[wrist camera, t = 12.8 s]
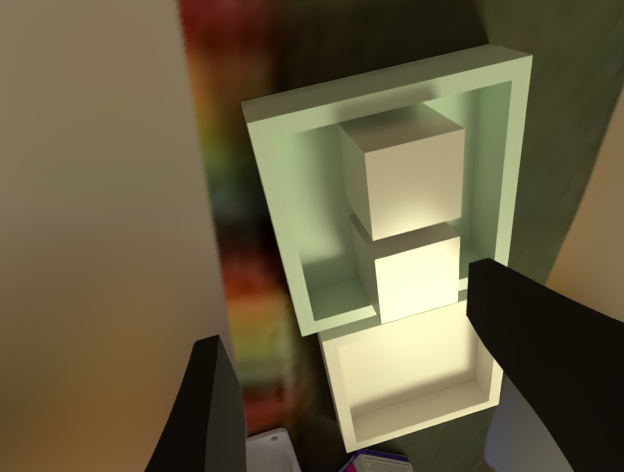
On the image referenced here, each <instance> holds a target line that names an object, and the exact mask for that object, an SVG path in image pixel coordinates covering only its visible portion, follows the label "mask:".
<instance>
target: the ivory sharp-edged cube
mask: <svg viewBox="0 0 624 472" xmlns="http://www.w3.org/2000/svg"><path fill="white" fill-rule="evenodd" d="M336 128H337V136H338V144H339V151H340V159H341V167H342V174H343V182H344V190H345V197H346V200H347V201H348V203H349V204H350V206H351V207H352V209H353V211H354V212H355V214H356V215H357V217H358V218H359V220H360V222H361V223H362V225H363V226H364V228H365V229H366V231H367V233H368V234H369V236H370V237H371V239H372V240H373V241H375V240H378V239H382V238H386V237H389V236H393V235H397V234H401V233H404V232H408V231H412V230H416V229H419V228H423V227H427V226H430V225H434V224H438V223H442V222H445V221H449V220H453V219H457V218H460V217H461V205H462V183H463V161H464V139H465V128H463V127H461V126H460V125H458V124H457V123H455V122H453V121H452V120H450V119H448V118H447V117H445V116H443V115H442V114H440V113H439V112H437V111H435V110H434V109H432V108H430V107H429V106H427V105H425V104H424V103H422V102H421V103H417V104H413V105H409V106H404V107H400V108H396V109H392V110H388V111H384V112H380V113H376V114H372V115H368V116H364V117H359V118H355V119H351V120H347V121H343V122H339V123H336Z"/></svg>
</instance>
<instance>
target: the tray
mask: <svg viewBox="0 0 624 472" xmlns="http://www.w3.org/2000/svg"><path fill="white" fill-rule="evenodd" d="M466 305H467V289H464V290H460V291H458V302H455V303H452V304H448V305H445V306H441V307H438V308H435V309H431V310H428V311H425V312H421V313H418V314H414V315H411V316H408V317H404V318H401V319H397V320H394V321H391V322H387V323H384V324H381V322H380V320H379V318H378V316H377V315H375V316H371V317H368V318H364V319H361V320H357V321H354V322H351V323H347V324H344V325H340V326H337V327H333V328H330V329H327V330H323V331H320V332H317V335H318V340H319V344H320V349H321V353H322V357H323V362H324V366H325V370H326V375H327V379H328V384H329V388H330V392H331V397H332V401H333V405H334V410H335V414H336V419H337V423H338V426H339V429H340V432H341V436H342V439H343V442H344V445H345V449H346V452H347V453H349V452H352V451H355V450H358V449H361V448H364V447H368V446H371V445H374V444H377V443H380V442H383V441H386V440H389V439H392V438H395V437H399V436H402V435H405V434H408V433H411V432H414V431H417V430H420V429H423V428H427V427H430V426H433V425H436V424H439V423H442V422H445V421H448V420H451V419H455V418H458V417H461V416H464V415H467V414H470V413H473V412H476V411H479V410H483V409H486V408H489V407H492V406H495V405H498V403H499V396H500V389H501V381H502V374H503V370H502V368H501V367H500V366H499V364H498V363H497V362H496V361H495V359H494V358H493V357H492V355H491V354H490V353H489V351H488V350H487V349H486V347H485V346H484V345H483V343H482V341H481V340H480V338H479V336H478V335H477V333H476V331H475V330H474V328H473V326H472V324H471V323H470V321H469V319H468V317H467V316H466Z"/></svg>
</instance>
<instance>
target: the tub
mask: <svg viewBox="0 0 624 472" xmlns="http://www.w3.org/2000/svg"><path fill="white" fill-rule="evenodd" d="M532 57H533V55H530V54H526V53H523V52H519V51H515V50H512V49H508V48H504V47H501V46H497V45H493V44H486V45H482V46H478V47H473V48H469V49H465V50H461V51H456V52H452V53H448V54H443V55H439V56H435V57H431V58H426V59H422V60H418V61H414V62H409V63H405V64H401V65H396V66H392V67H388V68H384V69H379V70H375V71H371V72H367V73H362V74H358V75H354V76H349V77H345V78H341V79H337V80H332V81H328V82H324V83H320V84H315V85H311V86H307V87H302V88H298V89H294V90H290V91H285V92H281V93H277V94H273V95H268V96H264V97H260V98H255V99H251V100H247V101H243V102H240V103H241V107H242V111H243V115H244V118H245V122H246V126H247V130H248V134H249V138H250V141H251V145H252V149H253V153H254V157H255V161H256V165H257V168H258V172H259V176H260V180H261V184H262V188H263V191H264V195H265V199H266V203H267V207H268V211H269V214H270V218H271V222H272V226H273V230H274V234H275V238H276V241H277V245H278V249H279V253H280V257H281V261H282V264H283V268H284V272H285V276H286V280H287V284H288V287H289V291H290V295H291V299H292V303H293V306H294V310H295V313H296V317H297V320H298V324H299V327H300V331H301V334H302V337H303V336H306V335H309V334H313V333H316V332H320V331H323V330H327V329H330V328H333V327H337V326H340V325H344V324H347V323H351V322H354V321H357V320H361V319H364V318H368V317H371V316H375V315H377V314H376V312H375V310H374V308H373V307H372V305H371V303H370V301H369V299H368V297H367V295H366V293H365V291H364V289H363V287H362V285H361V283H360V281H359V279H358V277H357V275H356V269H355V262H354V255H353V248H352V241H351V234H350V226H349V219H348V216H349V215H352V214H355V212H354V211H353V209H352V207H351V206H350V204H349V203H348V201H347V200H346V197H345V190H344V182H343V174H342V167H341V159H340V151H339V144H338V136H337V128H336V123H339V122H343V121H347V120H351V119H355V118H359V117H364V116H368V115H372V114H376V113H380V112H384V111H388V110H392V109H396V108H400V107H404V106H409V105H413V104H417V103H421V102H422V103H424V104H425V105H427V106H429V107H430V108H432V109H434V110H435V111H437V112H439V113H440V114H442V115H443V116H445V117H447V118H448V119H450V120H452V121H453V122H455V123H457V124H458V125H460V126H461V127H463V128H465V139H464V161H463V183H462V205H461V217H460V218H457V219H453V220H449V221H446V222H447V223H448V224H449V225H450V226H451V227H452V228H453V229H454V230H455V231H456V232H457V233H458V234H459V236H460V255H459V283H458V291H460V290H464V289H467V287H468V269H469V263H471V262H474V261H478V260H481V259H485V258H488V257H489V258H491V259H493V260H495V261H497V262H499V263H501V264H503V265H505V266H507V265H508V257H509V248H510V240H511V232H512V223H513V215H514V207H515V198H516V190H517V182H518V173H519V165H520V157H521V148H522V140H523V132H524V123H525V115H526V107H527V98H528V90H529V82H530V73H531V65H532Z"/></svg>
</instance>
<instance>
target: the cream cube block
mask: <svg viewBox="0 0 624 472" xmlns="http://www.w3.org/2000/svg"><path fill="white" fill-rule="evenodd" d="M348 219H349V226H350V234H351V241H352V248H353V255H354V262H355V269H356V275H357V277H358V279H359V281H360V283H361V285H362V287H363V289H364V291H365V293H366V295H367V297H368V299H369V301H370V303H371V305H372V307H373V308H374V310H375V312H376V314H377V316H378V318H379V320H380V322H381V324H384V323H387V322H391V321H394V320H397V319H401V318H404V317H408V316H411V315H414V314H418V313H421V312H425V311H428V310H431V309H435V308H438V307H441V306H445V305H448V304H452V303H455V302H458V283H459V255H460V236H459V234H458V233H457V232H456V231H455V230H454V229H453V228H452V227H451V226H450V225H449V224H448V223H447V222H446V221H445V222H442V223H438V224H434V225H430V226H427V227H423V228H419V229H416V230H412V231H408V232H404V233H401V234H397V235H393V236H389V237H386V238H382V239H378V240H375V241H373V240H372V239H371V237H370V236H369V234H368V233H367V231H366V229H365V228H364V226H363V225H362V223H361V222H360V220H359V218H358V217H357V215H356V214H352V215H349V216H348Z"/></svg>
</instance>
